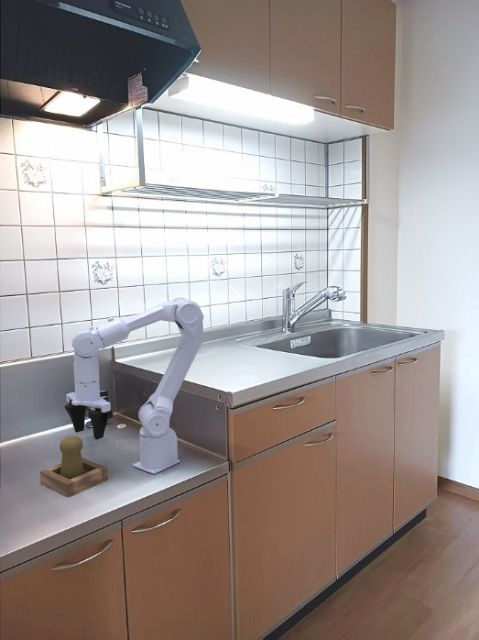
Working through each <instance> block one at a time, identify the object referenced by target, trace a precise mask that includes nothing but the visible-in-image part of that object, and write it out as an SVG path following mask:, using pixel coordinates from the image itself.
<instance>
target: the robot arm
mask: <svg viewBox="0 0 479 640" xmlns="http://www.w3.org/2000/svg"><path fill="white" fill-rule="evenodd" d="M204 318H205V315H204V313H203V311H202V309H201V307H200V305H199V304H198V303H197V302H195V301H193V300H188V299H187V298H184V297H176V298H174V299H172V300H166V301H164V302H161V303H159V304H156V305H154V306H152V307H150V308H148V309H146V310H144V311H141V312H138V313H137V314H134V315H132V316H130V317H128V318H125V319H123V318H120V316H119V317H118V316H117V317H113V316H110V317H107V321H105V322H102V323H99V324H97V325H95V326H93V325H90V326H88V330H87V329H82V330H79V331H77V332H76V333H75V334H74V335H73V338H72V340H71V345H72V348H73V350H74V354H73V360H74V361H73V375H74V376H73V378H74V379H73V380H74V391H72V392H69V393H67V394H65V395H66V402H67V404H65V405H64V409H65V411H66V412H67V413H68V416H69V417H70V420H71V423H72V426H73V429H74V433H76V434H78V433H81V432H83V431H85V426H86V425H85V423H86V422H85V421H86V420H85V419H86V411H87V407H88V408H92V409H94V410H92V411H89V412H87V415H88V417H89V418H90V421H91V426H92V432H93V438H94V440H99V439H103V438H104V437H105V436H104V435H105V431H106V426H107V424H108V421H109V419H110V416H111V415H112V413H113V409H112V408H111V402H109V401H107V400H106V399H104V398H103V397H101V389H100V366H99V364H100V363H99V360H98V352H99V350H104V349H106V348H108V347H110V346H114V345H116V344H117V343H120V342H122V341H125V340H127V339H128V337H129V336H130V333H131V332H133V331H135V330H139V329H141V328H144V327H146V326H150V325H153V324H155V323H157V322H160V321H163V322H168V323H169V322H170V323H175V324H176V326H177V328H178V331H179V334H180V336H181V338H180V341H179V343H178V346H177V347H176V349H175V351H174V354H173V355H172V357H171V359H170V362H169V363H168V366H167V368H166V369H165V371H164V374H163V375H162V377H161V380H160V382H159V383H158V386H157V388H156V390H155V391H154V393H152V394H151V395H150V396H149V397H148V399H147V401H145V403H144V404H143V405H141V406H140V408H139V410H138V413H137V414H138V419H139V421H140V423H141V424H142V425H141V428H140V429H139V461H137V462H135V463H133V464H132V466H133V467H134V468H136V469H140V470H142V471H144V472H146V473H147V472H148V473H150V474H152V475H155V474H158V473H160V472H162V471H164V470H166V469H169V468H170V467H173V466H174V465H176V464H178V463H180V462H181V461H180V459H178V437H177V434H176V432H175V430H174V429H173V428H171V427H170V422H171V421H170V419H171V416H172V413H173V406H174V401H175V398H176V397H177V394H178V393H179V391H180V388H181V386H182V384H183V382H184V380H185V379H186V376H187V374H188V372H189V370H190V369H191V366H192V364H193V362H194V360H195V358H196V356H197V354H198V352H199V350H200V348H201V346H202V344H203V341H204V338H205V337H204V336H205V335H204V322H203V321H204Z"/></svg>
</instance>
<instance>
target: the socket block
mask: <svg viewBox="0 0 479 640" xmlns="http://www.w3.org/2000/svg"><path fill="white" fill-rule="evenodd" d="M82 462H83V468H84V473H85V474H82V475H80V476H77V477H75V478H73V479H70V480H69V479H67V478H65V477H63V476H61V475H60V472H61V463H58V464H55V465H54V466H53V465H52V466H51V467H48V468H44V469H43V470H40V471H39V476H40V477H39V479H40V481H39V482H40V484H41V485H43V486H45V487H47V488H49V489H51V490H53V491H55V492H57V493H59V494H61V495H63V496H65V497H67V498H69V497H71V496H74V495H76V494H79V493H81V492H83V491H86V490H87V489H90V488H92V487H94V486H97V485H98V484H101V483H103V482H106V481H108V480H109V476H108V475H109V474H108V467H106V466H104V465H102V464H100V463H98V462H97V463H96V462H95V461H92V460H89V459H87V458H84V457H82Z"/></svg>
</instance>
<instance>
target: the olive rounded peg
mask: <svg viewBox="0 0 479 640" xmlns="http://www.w3.org/2000/svg"><path fill="white" fill-rule="evenodd" d="M59 442H60V443H59V450H60V452H61V453H62V454H61V462H60V464H61V472H60V475H61V476H63V477H65V478H67V479H69V480H70V479H73V478H75V477H77V476H80V475H82V474H85V473H84V468H83V462H82V458H83V457H82V453H81V451H82V450H83V446H84V445H83V439H82V438H81V437H80V436H74V435H73V436H67V437H64V438H63V439H61V441H59Z"/></svg>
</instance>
